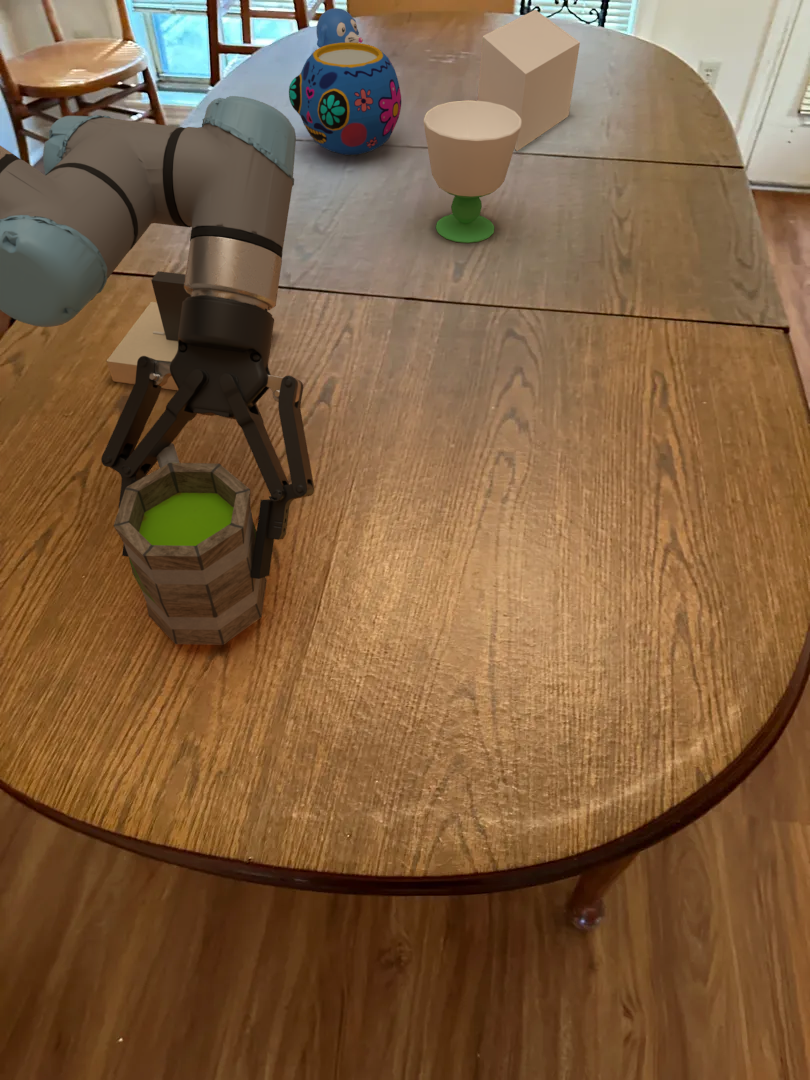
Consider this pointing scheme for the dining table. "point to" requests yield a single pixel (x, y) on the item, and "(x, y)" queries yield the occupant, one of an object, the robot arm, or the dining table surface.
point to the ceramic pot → (347, 97)
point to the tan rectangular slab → (142, 347)
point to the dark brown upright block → (170, 300)
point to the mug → (192, 550)
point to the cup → (469, 160)
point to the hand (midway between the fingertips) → (196, 565)
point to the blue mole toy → (337, 28)
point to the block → (529, 72)
